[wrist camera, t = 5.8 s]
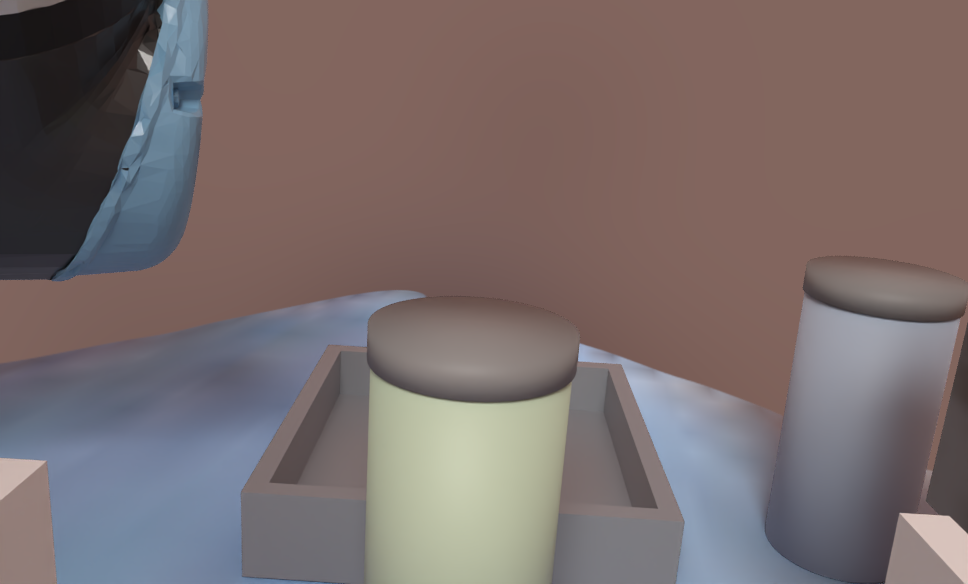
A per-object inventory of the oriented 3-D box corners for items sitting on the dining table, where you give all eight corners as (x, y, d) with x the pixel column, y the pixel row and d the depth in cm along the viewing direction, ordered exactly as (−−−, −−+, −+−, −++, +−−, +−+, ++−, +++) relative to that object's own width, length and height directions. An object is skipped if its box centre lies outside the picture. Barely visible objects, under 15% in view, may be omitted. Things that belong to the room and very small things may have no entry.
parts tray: (672, 605, 31) (684, 522, 30) (242, 576, 31) (241, 492, 30) (614, 423, 46) (621, 364, 45) (327, 403, 46) (328, 344, 45)
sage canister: (317, 706, 25) (322, 328, 22) (427, 606, 30) (444, 285, 27) (482, 799, 22) (515, 382, 19) (573, 673, 27) (613, 324, 24)
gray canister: (748, 553, 35) (794, 275, 31) (777, 494, 39) (819, 249, 36) (901, 603, 32) (968, 305, 28) (912, 534, 37) (971, 272, 33)
